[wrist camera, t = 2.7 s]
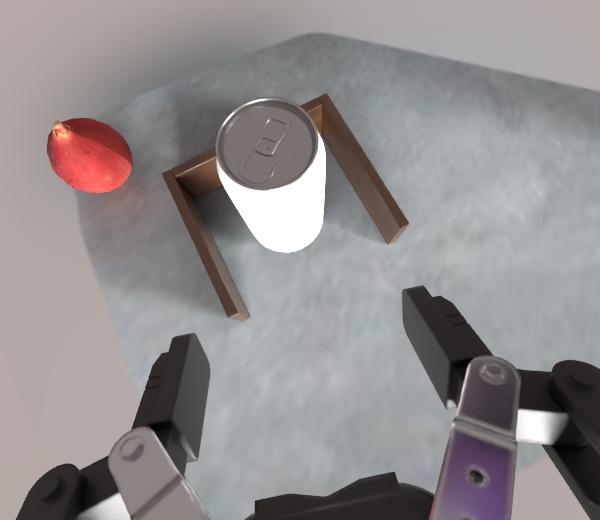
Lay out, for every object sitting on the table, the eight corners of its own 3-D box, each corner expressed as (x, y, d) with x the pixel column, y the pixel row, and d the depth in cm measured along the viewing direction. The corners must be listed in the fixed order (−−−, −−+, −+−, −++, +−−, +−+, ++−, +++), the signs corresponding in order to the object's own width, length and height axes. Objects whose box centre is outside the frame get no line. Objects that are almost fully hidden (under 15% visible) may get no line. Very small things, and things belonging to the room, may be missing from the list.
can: (238, 238, 30) (186, 174, 18) (267, 174, 31) (237, 75, 19) (306, 264, 29) (299, 215, 17) (334, 198, 30) (344, 110, 19)
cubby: (325, 126, 32) (326, 92, 28) (396, 241, 29) (410, 223, 25) (183, 196, 31) (161, 173, 27) (242, 321, 28) (228, 318, 24)
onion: (98, 217, 31) (24, 177, 23) (79, 165, 32) (4, 111, 25) (157, 190, 31) (104, 141, 24) (136, 140, 33) (79, 77, 25)
